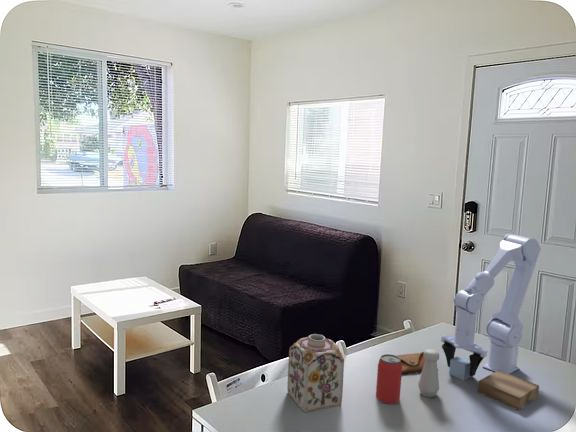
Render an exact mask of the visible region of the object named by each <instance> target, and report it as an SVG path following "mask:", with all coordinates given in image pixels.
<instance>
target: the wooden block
mask: <svg viewBox="0 0 576 432" xmlns="http://www.w3.org/2000/svg"><path fill="white" fill-rule="evenodd" d="M477 384H478V385H477V394H481V395H482V396H485V397H487V398H490V399H491V400H494V401H497V402H498V403H501V404H503V405H506V406H508V407H510V408H513V409H515V410H516V411H520V410H521V409H523V408H525V407H526V406H527V405H529V404H530V403H532V402H533V401H534V400H536V399H537V398H538V397H539V391H540V390H539V389H540V385H539V384H536V383H533V382H531V381H529V380H526V379H524V378H521V377H518V376H515V375H512V374H511V373H510V374H508V373H505V372H503V371H500V370H498V371H496V372H494V371H493V373H490V374H489V375H487V376H485V377H483V378H482V379H480V380H478V383H477Z"/></svg>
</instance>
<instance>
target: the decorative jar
mask: <svg viewBox="0 0 576 432" xmlns="http://www.w3.org/2000/svg"><path fill="white" fill-rule="evenodd" d="M287 365H288V367H287V386H286V387H287V393H288V394H289V395H290V397H291V399H292V400H293V401H294V402H295V403H296V404H297V405H298V406H299V408H300V409H301V410H302V411H303V412H304V413H307V412H311V411H316V410H323V409H328V408H333V407H338V406H342V403H343V393H344V391H343V390H344V376H345V375H344V373H345V372H344V371H345V358H344V356H343V354H342V351H341V350H340V347H339V345H338V344H337V343H335V342H334V340H332V339H329V338H326V337H325V336H324V335H323V334H317V333H313V334H310V335H308V336H306V337H302V338H300V339H298V340H297V341H296V342H294V343H293V344H292V345H291V346H290V347H289V349H288V364H287Z"/></svg>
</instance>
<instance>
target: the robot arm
mask: <svg viewBox="0 0 576 432" xmlns="http://www.w3.org/2000/svg"><path fill="white" fill-rule="evenodd" d="M540 252H541V246H540V244H539V241H538V240H537V239H536V238H533V237H532V238H531V237H526V236H522V235H517V234H514V233H512V232H511V233H507V234H506V235H504V237H502V240H501V241H500V242H499V249H498V251H497V252H496V254H495V255H494V257H493V258H492V260H491V261H490V263H489V264H488V265H487V267H486V268H485V270H484V271H479V272H477V273H476V274H475V275H474V277H473V279H472V280H471V281H470V282H469V283H468V284H467V286H466V287H465V288H464V289H462V290H459V291H458V292H457V293H455V296H454V298H453V304H454V306H455V312H456V316H455V317H456V319H455V328H454V336H450V335H447V334H444V335H442V336H441V341H440V342H442V343H443V344H442V345H441V348H442V350H443V352H444V355H445V358H446V363H447V367H448V368H450V360H451V359H453V358H455V356H456V355H455V354H456V349H459V350H460V349H461V350H465V351H467V352H470V353H472V354H470V355H469V357H468V359H469V360H470V376H471V377H470V378H472V377H474V376H476V374H477V370H478V368H479V366H480V364H481V363H482V362H483V359H484V358H486V357H487V356H488V358H487V359H488V360H487V362H486V363H484V364H482V365H481V366H482V367H483V368H485V369H487V370H489V371H492V372H493V373H494V372H496V371H498V370H500V371H503V372H505V373H508V374H510V375H511V374H512V373H513V372H515V371H518V370H519V369H520V366H518V365H517V364H518V356H519V347H518V345H519V344H520V343H521V340H522V337H523V334H522V333H523V332H522V331H523V327H524V325H523V323H522V321H521V319H520V318H519V315H520V311H521V309H522V305H523V303H524V301H525V297H526V294H527V291H528V288H529V285H530V282H531V279H532V276H533V273H534V271H535V268H536V264H537V261H538V258H539V256H540ZM510 262H513V264H514V265H515V266H514V269H513V272H512V274H511V278H510V281H509V283H508V287H507V290H506V292H505V295H504V299H503V301H502V304H501V307H500V310H499V311H497V312H496V311H495V312H493V314H492V315H491V317H490V320H489V321H488V322H487V324H486V326H485V332H486V334H487V336H488V339H489V340H490V343H489V351H488V349H485V348H483V347H481V346H480V345H478V344H476V343H475V333H476V324H477V323H476V322H477V315H478V314H477V313H478V312H479V310H481V309H482V307H483V302H484V301H485V297H486V295H487V294H488V293H489V292H490V290H491V289H492V288H493V286H494V285H495V278H496V277H497V276H498V275H499V274H500V273H501V271H503V269H505V268H506V267H507V265H508V264H509V263H510Z"/></svg>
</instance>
